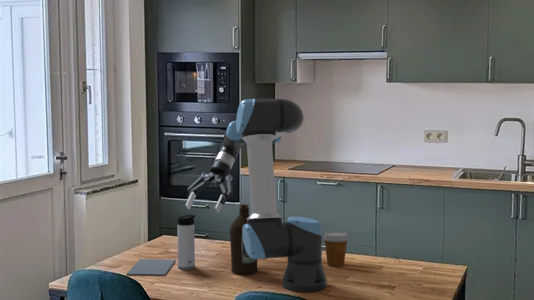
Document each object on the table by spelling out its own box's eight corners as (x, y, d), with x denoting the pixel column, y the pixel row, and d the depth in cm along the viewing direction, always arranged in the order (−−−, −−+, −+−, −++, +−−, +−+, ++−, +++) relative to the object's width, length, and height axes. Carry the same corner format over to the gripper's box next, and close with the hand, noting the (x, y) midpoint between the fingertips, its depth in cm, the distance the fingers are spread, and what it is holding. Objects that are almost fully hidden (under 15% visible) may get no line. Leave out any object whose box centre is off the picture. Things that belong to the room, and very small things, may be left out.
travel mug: (194, 270, 246) (194, 216, 244) (176, 269, 246) (176, 216, 244) (196, 265, 252) (196, 213, 250) (179, 265, 252) (178, 213, 250)
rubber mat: (165, 275, 238) (165, 274, 238) (126, 275, 239) (126, 273, 239) (175, 261, 258) (175, 259, 258) (140, 260, 259) (139, 259, 259)
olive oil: (224, 270, 245) (224, 203, 243) (249, 266, 251) (248, 200, 249) (239, 277, 236) (239, 208, 234) (264, 272, 242) (264, 205, 240)
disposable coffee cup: (347, 261, 257) (348, 231, 256) (348, 268, 248) (348, 236, 246) (323, 261, 258) (323, 230, 257) (322, 267, 249) (323, 236, 247)
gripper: (252, 173, 265) (233, 217, 253) (200, 169, 276) (179, 211, 265) (245, 161, 259) (226, 205, 248) (192, 158, 271) (171, 200, 259)
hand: (202, 208), depth 256 cm, fingers open, 13 cm apart
